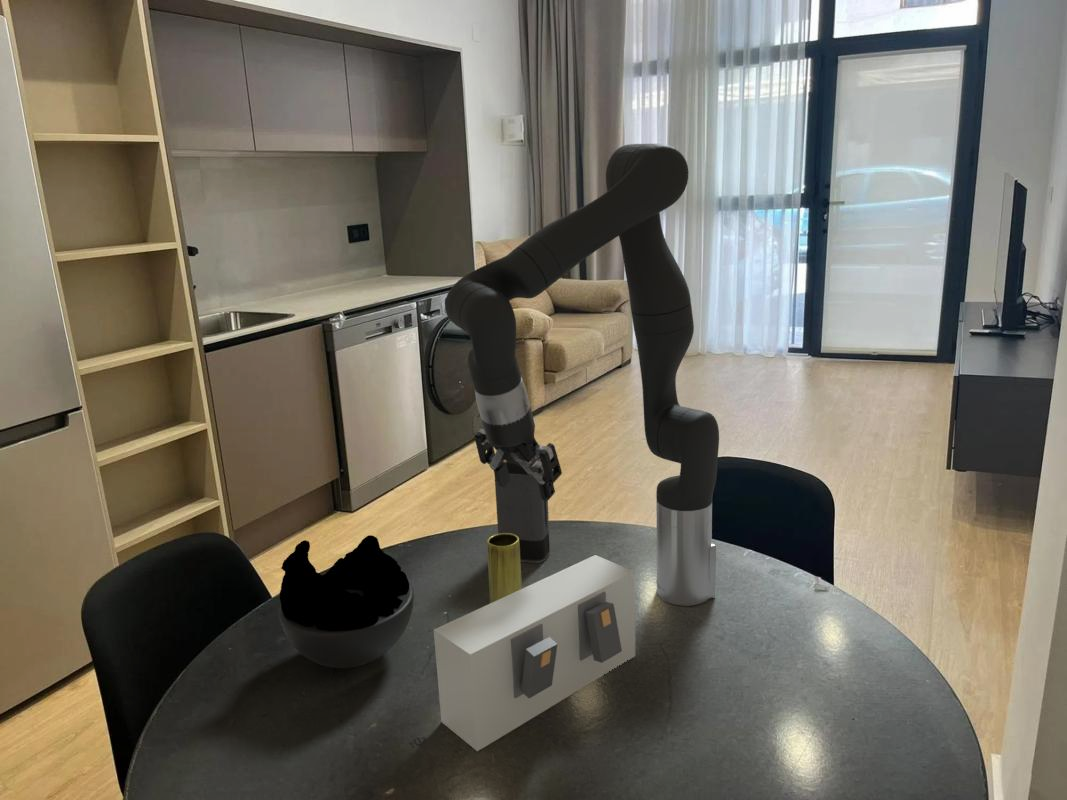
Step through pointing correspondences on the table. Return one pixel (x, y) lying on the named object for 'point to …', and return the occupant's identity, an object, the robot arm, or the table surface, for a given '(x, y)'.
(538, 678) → the outer rocker
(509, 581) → the vase
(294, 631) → the coal bowl
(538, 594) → the power box
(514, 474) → the electronic device
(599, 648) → the block
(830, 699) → the table surface
